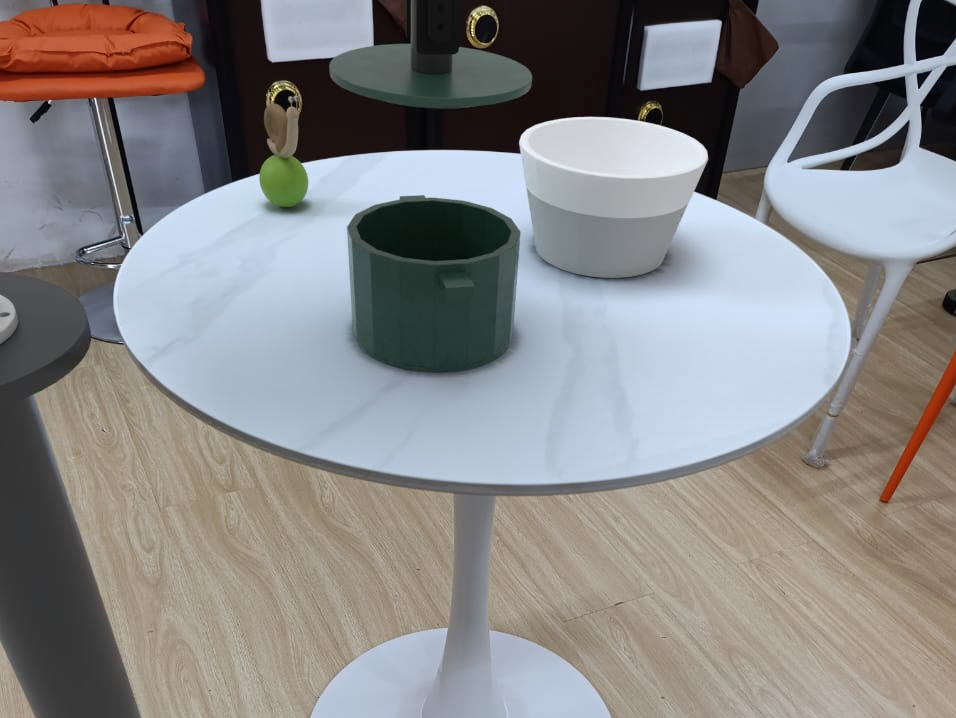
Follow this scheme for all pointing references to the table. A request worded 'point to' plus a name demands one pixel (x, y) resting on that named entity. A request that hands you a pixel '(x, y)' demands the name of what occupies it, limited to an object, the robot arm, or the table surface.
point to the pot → (433, 283)
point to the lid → (430, 75)
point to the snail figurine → (283, 158)
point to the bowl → (607, 192)
